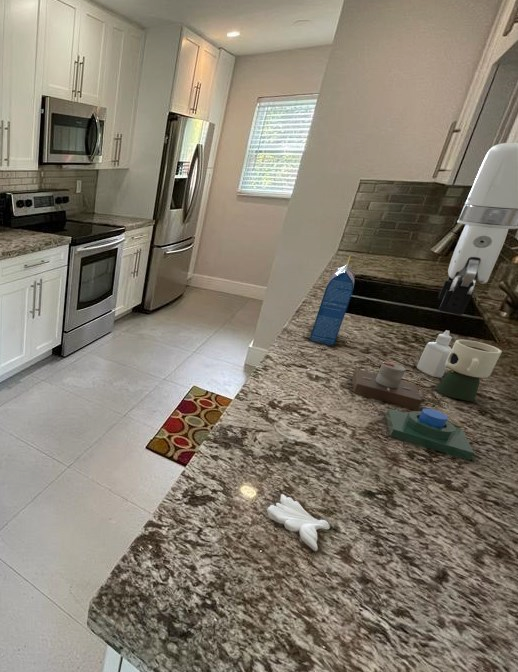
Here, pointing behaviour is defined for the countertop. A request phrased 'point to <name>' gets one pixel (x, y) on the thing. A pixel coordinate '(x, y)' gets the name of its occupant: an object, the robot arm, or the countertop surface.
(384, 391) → the knob console
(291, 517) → the acanthus leaf ornament
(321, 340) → the blue food package
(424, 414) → the push cap
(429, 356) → the eye dropper bottle
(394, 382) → the dial
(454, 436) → the push cap base
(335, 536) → the countertop surface
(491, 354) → the character mug
